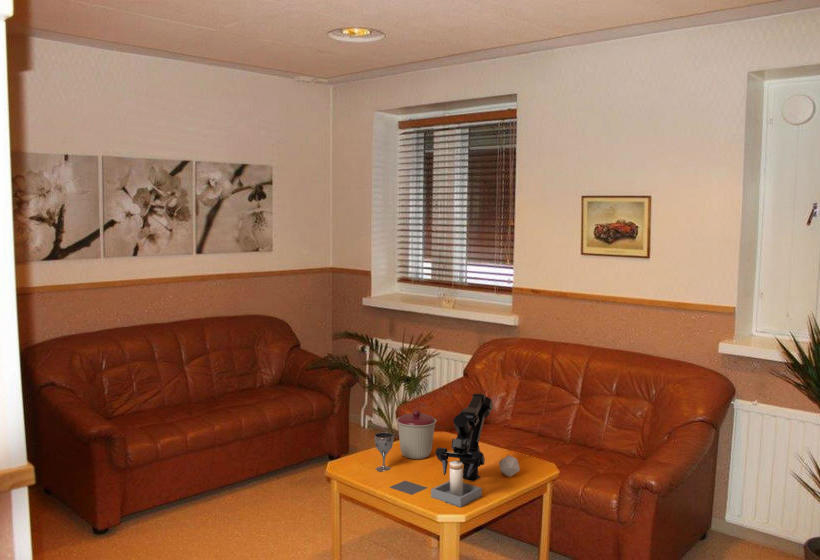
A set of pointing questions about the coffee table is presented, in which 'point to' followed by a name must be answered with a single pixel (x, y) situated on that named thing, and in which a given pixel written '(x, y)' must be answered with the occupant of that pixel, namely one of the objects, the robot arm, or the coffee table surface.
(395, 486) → the mat
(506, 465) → the die
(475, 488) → the bin
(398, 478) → the coffee table surface
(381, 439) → the wine glass
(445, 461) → the robot arm
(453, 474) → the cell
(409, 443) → the canister
